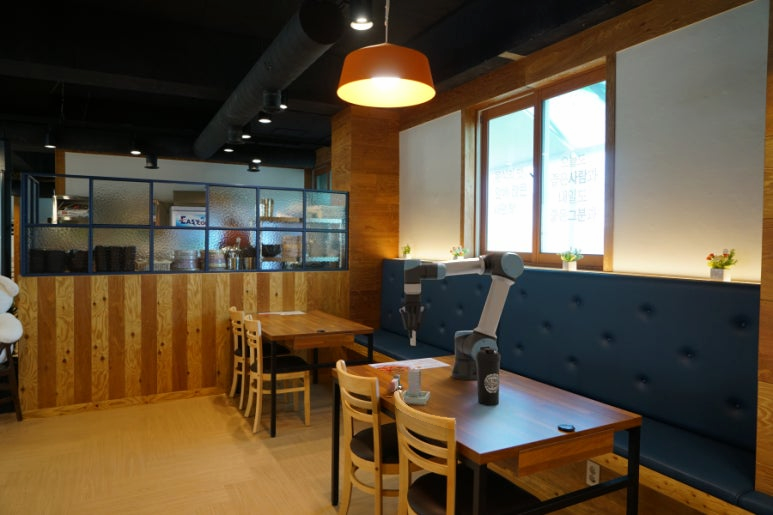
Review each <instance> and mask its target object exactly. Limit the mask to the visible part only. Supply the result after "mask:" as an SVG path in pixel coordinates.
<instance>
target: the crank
mask: <svg viewBox="0 0 773 515" xmlns="http://www.w3.org/2000/svg"><path fill="white" fill-rule="evenodd" d="M388 385H389V387H388V388H389V390H388V391H389V392H390V393H394V391H395V392H396V391H397V390H396V389H397V387H398V386H400V385H401V375H400V374H393V379H392V380H390V381H389V382H388Z"/></svg>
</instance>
